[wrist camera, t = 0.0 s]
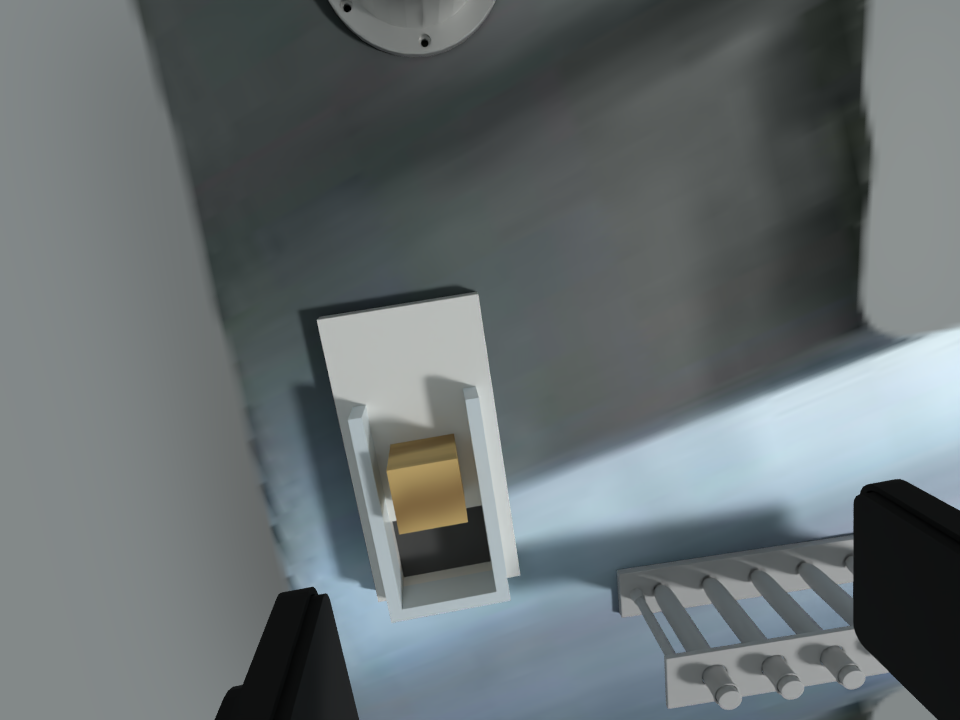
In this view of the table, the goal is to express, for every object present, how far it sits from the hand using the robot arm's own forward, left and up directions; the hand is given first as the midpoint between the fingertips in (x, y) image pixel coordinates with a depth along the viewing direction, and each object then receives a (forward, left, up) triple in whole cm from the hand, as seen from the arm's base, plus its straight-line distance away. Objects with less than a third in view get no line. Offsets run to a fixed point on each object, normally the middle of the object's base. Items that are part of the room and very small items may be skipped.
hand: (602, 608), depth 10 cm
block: (+12, -5, -35) cm, 38 cm away
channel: (+11, -5, -37) cm, 39 cm away
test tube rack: (+28, +22, -37) cm, 51 cm away
